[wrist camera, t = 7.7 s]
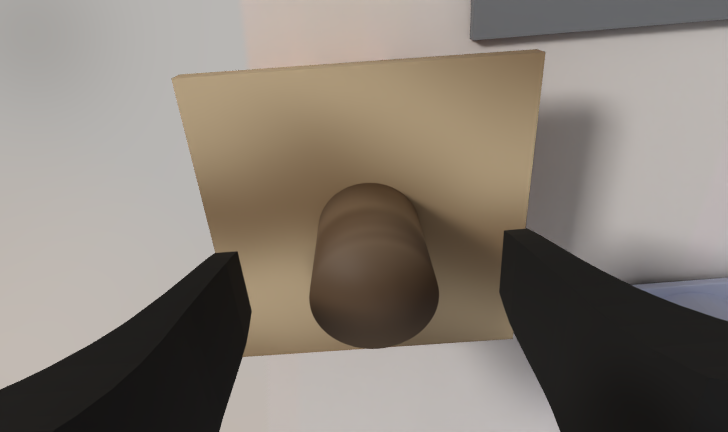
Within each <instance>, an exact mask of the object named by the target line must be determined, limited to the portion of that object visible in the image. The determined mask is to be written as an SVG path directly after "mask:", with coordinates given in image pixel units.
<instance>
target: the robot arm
mask: <svg viewBox="0 0 728 432" xmlns="http://www.w3.org/2000/svg"><path fill="white" fill-rule="evenodd" d="M499 293H500V296H501V300H502V303H503V306H504V309H505V312H506V315H507V318H508V320H509V323H510V325H511V327H512V330H513V332H514V334H515V336H516V338H517V340H518V342H519V344H520V346H521V348H522V350H523V352H524V354H525V356H526V358H527V360H528V362H529V364H530V365H531V367H532V369H533V371H534V373H535V375H536V377H537V379H538V381H539V383H540V385H541V387H542V389H543V391H544V393H545V395H546V397H547V400H548V402H549V404H550V406H551V409H552V411H553V414H554V416H555V419H556V421H557V424H558V427H559V429H560V432H728V278H715V279H702V280H689V281H676V282H663V283H650V284H637V285H630V284H628V283H625V282H623V281H621V280H619V279H617V278H615V277H613V276H611V275H609V274H607V273H605V272H603V271H601V270H600V269H598V268H596V267H594V266H592V265H590V264H588V263H587V262H585V261H583V260H581V259H580V258H578V257H576V256H574V255H573V254H571V253H569V252H567V251H566V250H564V249H562V248H561V247H559V246H557V245H556V244H554V243H552V242H551V241H549V240H547V239H545V238H544V237H542V236H540V235H538V234H537V233H535V232H533V231H531V230H529V229H514V230H504V236H503V249H502V262H501V275H500V288H499ZM251 314H252V310H251V306H250V301H249V297H248V293H247V289H246V285H245V280H244V276H243V272H242V268H241V264H240V260H239V255H238V251H234V252H221V253H215V254H213V255H212V256H210V257H209V258H207V259H206V260H205V261H204V262H202V263H201V264H200V265H199V266H198V267H196V268H195V269H194V270H193V271H191V272H190V273H189V274H188V275H187V276H185V277H184V278H183V279H182V280H181V281H179V282H178V283H177V284H176V285H174V286H173V287H172V288H171V289H170V290H168V291H167V292H166V293H165V294H163V295H162V296H161V297H159V298H158V299H157V300H155V301H154V302H153V303H151V304H150V305H149V306H147V307H146V308H145V309H143V310H142V311H141V312H139V313H138V314H137V315H135V316H134V317H132V318H131V319H130V320H128V321H127V322H125V323H124V324H123V325H121V326H119V327H118V328H116V329H115V330H113V331H111V332H110V333H108V334H107V335H105V336H103V337H102V338H100V339H99V340H97V341H95V342H94V343H92V344H90V345H88V346H87V347H85V348H83V349H81V350H79V351H77V352H76V353H74V354H72V355H70V356H68V357H66V358H64V359H63V360H61V361H59V362H57V363H55V364H53V365H52V366H50V367H48V368H46V369H44V370H42V371H40V372H38V373H35V374H34V375H31V376H29V377H27V378H25V379H23V380H21V381H19V382H16V383H14V384H12V385H10V386H7V387H5V388H3V389H1V390H0V432H219V430H220V427H221V423H222V419H223V416H224V413H225V410H226V406H227V403H228V400H229V397H230V394H231V391H232V388H233V385H234V382H235V379H236V376H237V372H238V369H239V366H240V363H241V360H242V357H243V353H244V350H245V347H246V343H247V338H248V332H249V327H250V320H251Z"/></svg>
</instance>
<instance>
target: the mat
mask: <svg viewBox="0 0 728 432" xmlns="http://www.w3.org/2000/svg"><path fill="white" fill-rule="evenodd" d="M725 19H728V0H471V22H470V39H471V40H483V39H495V38H507V37H520V36H532V35H544V34H556V33H568V32H580V31H592V30H604V29H616V28H628V27H640V26H652V25H664V24H677V23H689V22H701V21H713V20H725Z"/></svg>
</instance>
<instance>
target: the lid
mask: <svg viewBox="0 0 728 432" xmlns="http://www.w3.org/2000/svg"><path fill="white" fill-rule="evenodd" d="M544 60H545V52H543V51H540V50H538V49H535V50H521V51H507V52H493V53H478V54H464V55H450V56H436V57H422V58H408V59H394V60H380V61H365V62H351V63H337V64H323V65H309V66H295V67H281V68H267V69H252V70H238V71H225V72H210V73H196V74H182V75H178V76H176V77H174V78H172V83H173V86H174V91H175V95H176V98H177V103H178V106H179V110H180V115H181V119H182V122H183V126H184V130H185V134H186V138H187V142H188V146H189V150H190V154H191V158H192V162H193V166H194V170H195V174H196V178H197V182H198V186H199V190H200V194H201V197H202V202H203V206H204V210H205V213H206V218H207V222H208V225H209V229H210V233H211V237H212V241H213V245H214V249H215V253H221V252H234V251H238V255H239V260H240V264H241V268H242V272H243V276H244V280H245V285H246V289H247V293H248V297H249V301H250V306H251V310H252V314H251V320H250V327H249V332H248V338H247V343H246V347H245V350H244V353H243V357H248V356H263V355H278V354H293V353H308V352H323V351H338V350H352V349H378V348H386V347H397V346H412V345H427V344H441V343H456V342H471V341H486V340H501V339H513V330H512V327H511V325H510V323H509V320H508V318H507V315H506V312H505V309H504V306H503V303H502V300H501V296H500V293H499V288H500V275H501V262H502V249H503V236H504V230H514V229H525V226H526V217H527V209H528V200H529V191H530V183H531V174H532V165H533V156H534V148H535V139H536V130H537V121H538V113H539V104H540V95H541V86H542V78H543V69H544Z"/></svg>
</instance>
